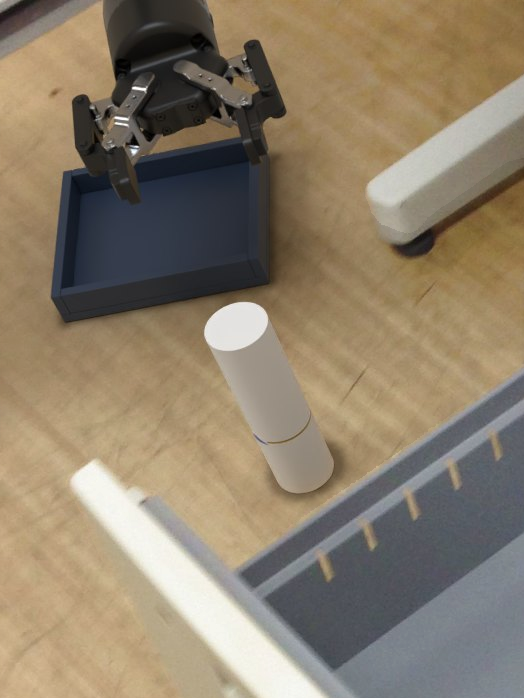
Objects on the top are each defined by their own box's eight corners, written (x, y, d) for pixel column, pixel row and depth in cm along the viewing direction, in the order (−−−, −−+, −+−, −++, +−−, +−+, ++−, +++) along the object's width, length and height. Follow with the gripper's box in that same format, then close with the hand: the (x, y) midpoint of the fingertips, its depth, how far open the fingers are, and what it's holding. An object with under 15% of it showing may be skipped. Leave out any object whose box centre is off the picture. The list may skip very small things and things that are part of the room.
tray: (64, 322, 142) (50, 297, 139) (76, 196, 150) (62, 171, 148) (269, 283, 141) (257, 257, 138) (269, 158, 149) (259, 132, 147)
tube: (342, 450, 130) (278, 305, 118) (320, 497, 128) (252, 354, 115) (289, 443, 131) (220, 298, 119) (267, 489, 129) (193, 346, 117)
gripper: (43, 19, 126) (67, 165, 117) (237, -43, 127) (276, 98, 117) (86, 103, 132) (112, 248, 123) (271, 44, 133) (311, 184, 124)
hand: (192, 175), depth 120 cm, fingers open, 8 cm apart
